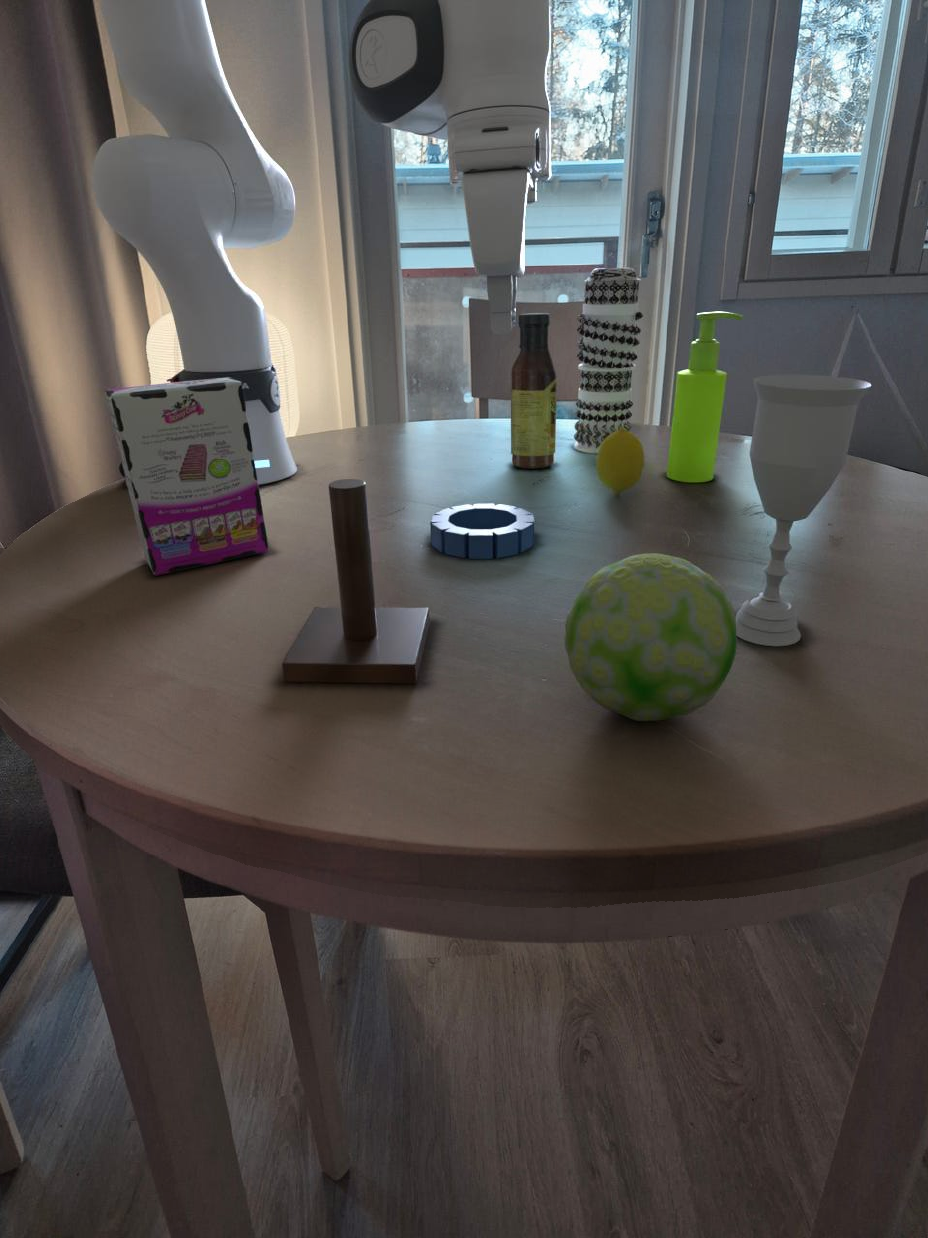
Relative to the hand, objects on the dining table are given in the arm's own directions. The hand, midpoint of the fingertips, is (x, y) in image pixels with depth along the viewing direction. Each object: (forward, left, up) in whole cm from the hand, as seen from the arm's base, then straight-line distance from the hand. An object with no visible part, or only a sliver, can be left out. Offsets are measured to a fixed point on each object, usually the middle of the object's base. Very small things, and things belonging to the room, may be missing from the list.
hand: (504, 331), depth 68 cm
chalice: (+20, -23, -20) cm, 37 cm away
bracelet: (-2, -3, -20) cm, 20 cm away
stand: (-10, -27, -20) cm, 35 cm away
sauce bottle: (+4, +29, -20) cm, 35 cm away
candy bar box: (-29, -8, -20) cm, 36 cm away
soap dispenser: (+25, +22, -20) cm, 39 cm away
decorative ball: (+9, -34, -20) cm, 41 cm away
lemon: (+14, +14, -20) cm, 28 cm away
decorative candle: (+15, +40, -20) cm, 47 cm away
